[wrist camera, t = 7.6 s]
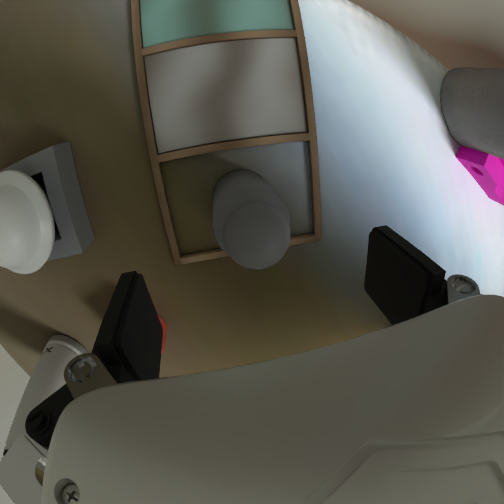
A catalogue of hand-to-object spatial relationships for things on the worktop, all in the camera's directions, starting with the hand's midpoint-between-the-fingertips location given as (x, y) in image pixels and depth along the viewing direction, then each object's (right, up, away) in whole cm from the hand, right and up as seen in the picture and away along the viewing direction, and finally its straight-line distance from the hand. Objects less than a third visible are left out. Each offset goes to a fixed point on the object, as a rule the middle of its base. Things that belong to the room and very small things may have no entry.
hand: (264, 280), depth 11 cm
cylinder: (-1, +6, +12) cm, 13 cm away
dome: (-19, +5, +8) cm, 21 cm away
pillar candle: (+23, +17, +10) cm, 31 cm away
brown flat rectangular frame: (-2, +13, +8) cm, 16 cm away
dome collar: (-19, +6, +9) cm, 22 cm away
